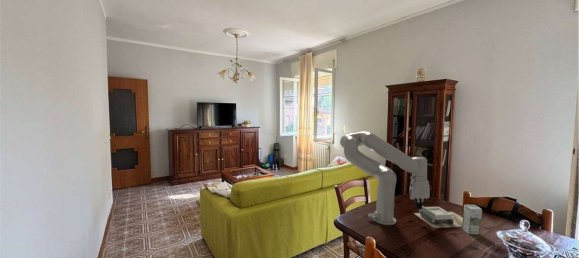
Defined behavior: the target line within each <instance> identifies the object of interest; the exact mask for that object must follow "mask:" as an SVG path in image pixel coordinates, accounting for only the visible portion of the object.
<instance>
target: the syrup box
mask: <svg viewBox="0 0 579 258" xmlns="http://www.w3.org/2000/svg"><path fill="white" fill-rule="evenodd" d="M462 212H463V214H462V217H463V224H462V227H461V229H462V230H463V232H465V233H466V234H467V235H472V236H473V235H476V236H480V235H481V226H482V215H483V214H482V213H483V209H482V208H481V207H480V206H478V205H476V204H464V205H463V211H462Z"/></svg>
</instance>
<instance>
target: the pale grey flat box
mask: <svg viewBox="0 0 579 258" xmlns="http://www.w3.org/2000/svg"><path fill="white" fill-rule="evenodd" d="M448 212H449V211H446V210H445V209H443V208H442V207H440V206H423V205H422V209H418V213H420V214H421V215H422V216H424V217H425V218H426V219H428V220H429V221H431V222H434V224H436V225H438V224H439V222H448V223H450V224H453V223H454V221H453V219H455V217H454V216H452V214H450V213H448Z"/></svg>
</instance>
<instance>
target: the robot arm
mask: <svg viewBox="0 0 579 258" xmlns="http://www.w3.org/2000/svg"><path fill="white" fill-rule="evenodd" d="M339 144H340V146H341V148H343V154H344V157H345V159H346V160H347V161H348V162H349V163H350V164H352V165H353V166H355V167H356V168H358V169H360V170H361V171H363V172H364V174H367V175H370V176H371V177H373V178H375V179H377V180H378V184H377V187H376V188H377V189H376V206H375V207H376V210H375V211H374V212H373V213H368V214H367V217H368V218H372V219H373V221H375V222H376V223H377V224H380V225H385V226H394V225H395V224H396V223H397V219H396V218H395V217H394V208H395V189H396V184H397V174H396V173H395V172H394V170H392V169H391V168H389V167H387V165H385V164H382V163H381V162H380V161H377V160H376V159H374V158H372V156H369V155H366V154H364V153H363V152H361V151H360V150H359V147H360V146H361V147H362V146H365V147H366V148H368V149H369V150H371V151H373V152H374V153H376V154H377V155H378V156H380V157H382V158H383V159H385V160H387V161H389V162H392V163H393V164H395V165H397V167H399V168H400V169H402V170H404V171H406V172H407V173H409V174H411V176H410V177H409V178H410V183H409V184H410V185H409V199H410V200H413V201H414V202H415V208H416V209H418V210H419V209H422V206H423V203H424V202H425V200H427V199H429V198H430V195H431V194H430V193H431V191H430V190H431V189H430V188H431V187H430V183H429V180H428V159H427V158H426V157H425V156H409V155H407V154H406V153H405V152H403V151H401V150H399V148H396V147H395V146H394V145H392V144H390V143H389V142H387V141H386V140H384V139H382V138H381V137H379V136H377V135H376V134H375V133H372V132H370V131H359V132H353V133H348V134H344V135H343V136H341V137H340V140H339Z"/></svg>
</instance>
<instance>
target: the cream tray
mask: <svg viewBox="0 0 579 258" xmlns="http://www.w3.org/2000/svg"><path fill="white" fill-rule="evenodd" d="M447 212H448V213H450V214H452V216H454V217H455V219H453V221H454V223H453V224H450V223H448V222H439V224H438V225H436V224H434V222H431V221H429V220H428V219H426V218H425V217H424V216H422V215H421V214H420V213H419V212H414V213H413V214H414V215H415V216H417V218H419V219H420V220H422V221H424V222H425V224H427V225H428V226H430V227H432V228H433V229H442V228H443V229H446V228H462V224H463V216H461V215H459V214H457V213H456V212H454V211H447Z"/></svg>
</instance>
